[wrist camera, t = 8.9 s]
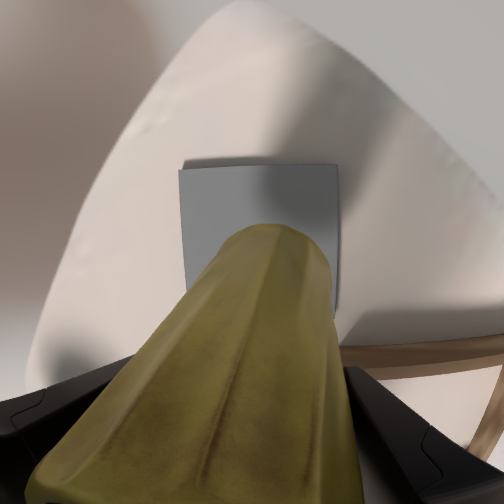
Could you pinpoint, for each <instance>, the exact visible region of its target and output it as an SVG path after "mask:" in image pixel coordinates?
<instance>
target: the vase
mask: <svg viewBox="0 0 504 504" xmlns="http://www.w3.org/2000/svg"><path fill="white" fill-rule="evenodd" d="M331 292H332V275H331V269H330V265H329V263H328V261H327V258H326V256H325V255H324V253H323V252H322V250H321V249H320V247H319V246H318V245H317V244H316V243H315V242H314V241H313V240H312V239H311V238H310V237H308V236H307V235H305V234H304V233H302V232H300V231H298V230H296V229H293V228H291V227H289V226H286V225H284V224H273V223H266V224H256V225H252V226H249V227H247V228H244V229H242V230H240V231H238V232H236V233H235V234H233V235H232V236H230V237H229V238H228V239H227V240H226V241H225V242H224V243H223V245H222V246H221V247H220V249H219V251H218V252H217V254H216V256H215V257H214V258H213V259H212V260H211V261H210V263H209V264H208V265H207V266H206V267H205V269H204V270H203V271H202V272H201V274H200V275H199V276H198V278H197V279H196V281H195V282H194V283H193V285H192V286H191V287H190V289H189V290H188V291H187V292H186V293H185V295H184V296H183V297H182V298H181V300H180V301H179V302H178V303H177V305H176V306H175V307H174V309H173V310H172V311H171V313H170V314H169V315H168V316H167V317H166V318H165V320H164V321H163V322H162V323H161V324H160V325H159V327H158V328H157V329H156V330H155V332H154V333H153V334H152V335H151V337H150V338H149V339H148V340H147V342H146V343H145V344H144V345H143V346H142V347H141V348H140V349H139V351H138V352H137V353H136V354H135V355H134V356H133V357H132V358H131V359H130V360H129V361H128V362H127V364H126V365H125V366H124V367H123V368H122V369H121V370H120V371H119V373H118V374H117V375H116V376H115V377H114V378H113V380H112V381H111V382H110V383H109V384H108V385H107V387H106V388H105V389H104V390H103V391H102V393H101V394H100V395H99V396H98V397H97V398H96V400H95V401H94V402H93V403H92V404H91V406H90V407H89V408H88V409H87V410H86V411H85V413H84V414H83V415H82V416H81V417H80V418H79V420H78V421H77V422H76V423H75V424H74V425H73V426H72V427H71V429H70V430H69V431H68V432H67V433H66V434H65V435H64V436H63V438H62V439H61V440H60V441H59V442H58V443H57V445H56V446H55V447H54V448H53V449H52V450H50V451H49V452H48V453H47V454H46V455H45V457H44V458H43V459H42V460H41V461H40V462H39V464H38V465H37V466H36V467H35V469H34V471H33V472H32V474H31V476H30V477H29V480H28V483H27V485H26V488H25V491H24V494H25V499H26V504H365V500H364V490H363V482H362V475H361V469H360V463H359V457H358V451H357V445H356V439H355V432H354V426H353V419H352V413H351V407H350V401H349V395H348V390H347V385H346V381H345V377H344V372H343V367H342V362H341V357H340V351H339V344H338V337H337V332H336V328H335V324H334V319H333V314H332V304H331Z"/></svg>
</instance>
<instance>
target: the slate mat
mask: <svg viewBox="0 0 504 504" xmlns="http://www.w3.org/2000/svg"><path fill="white" fill-rule="evenodd" d="M178 172H179V194H180V212H181V228H182V242H183V255H184V267H185V278H186V289H187V291H188V290H189V289H190V287H191V286H192V285H193V283H194V282H195V281H196V279H197V278H198V276H199V275H200V274H201V272H202V271H203V270H204V269H205V267H206V266H207V265H208V264H209V263H210V261H211V260H212V259H213V258H214V257H215V256H216V254H217V252H218V251H219V249H220V247H221V246H222V245H223V243H224V242H225V241H226V240H227V239H228V238H229V237H230V236H232V235H233V234H235V233H236V232H238V231H240V230H242V229H244V228H247V227H249V226H252V225H256V224H266V223H273V224H284V225H286V226H289V227H291V228H293V229H296V230H298V231H300V232H302V233H304V234H305V235H307V236H308V237H310V238H311V239H312V240H313V241H314V242H315V243H316V244H317V245H318V246H319V247H320V249H321V250H322V252H323V253H324V255H325V256H326V258H327V261H328V263H329V265H330V269H331V275H332V292H331V304H332V314H333V319H334V316H335V299H336V279H337V250H338V165H322V164H304V165H255V166H231V167H213V168H197V169H184V170H178Z"/></svg>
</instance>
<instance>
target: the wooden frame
mask: <svg viewBox="0 0 504 504" xmlns="http://www.w3.org/2000/svg"><path fill="white" fill-rule="evenodd" d="M339 351H340V357H341V362H342V367H343V368H344V366H355V365H357V366H359V367H361V368H362V369H363V370H364V371H366V372H367V373H368V374H369V375H370V376H372V377H373V378H374V379H375V380H389V379H402V378H413V377H423V376H432V375H440V374H448V373H456V372H462V371H469V370H475V369H481V368H487V367H492V366H498V365H503V367H502V370H501V373H500V376H499V379H498V381H497V384H496V387H495V389H494V392H493V395H492V397H491V399H490V402H489V404H488V407H487V409H486V411H485V414H484V416H483V418H482V420H481V423H480V425H479V427H478V429H477V431H476V433H475V435H474V437H473V439H472V441H471V443H470V445H469V447H468V449H467V451H468V452H470V453H472V454H473V455H475V456H477V457H478V458H480V459H482V460H483V461H485V462H486V461H487V459H488V458H489V456H490V454H491V453H492V451H493V449H494V447H495V446H496V444H497V442H498V440H499V438H500V436H501V434H502V433H503V431H504V334H500V335H493V336H485V337H477V338H469V339H460V340H450V341H439V342H428V343H414V344H399V345H380V346H352V347H339Z"/></svg>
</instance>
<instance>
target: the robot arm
mask: <svg viewBox="0 0 504 504" xmlns="http://www.w3.org/2000/svg"><path fill="white" fill-rule="evenodd" d="M134 355H135V354H134ZM134 355H132V356H129V357H127V358H124V359H122V360H119V361H117V362H114V363H111V364H109V365H106V366H104V367H101V368H98V369H96V370H93V371H91V372H88V373H85V374H83V375H80V376H77V377H75V378H72V379H69V380H66V381H64V382H61V383H58V384H55V385H53V386H50V387H47V389H46V388H44V389H41V390H38V391H35V392H32V393H29V394H26V395H23V396H20V397H17V398H12V399H9V400H5V401H1V402H0V504H26V499H25V494H24V491H25V488H26V485H27V483H28V480H29V477H30V476H31V474H32V472H33V471H34V469H35V467H36V466H37V465H38V464H39V462H40V461H41V460H42V459H43V458H44V457H45V455H46V454H47V453H48V452H49V451H50V450H52V449H53V448H54V447H55V446H56V445H57V443H58V442H59V441H60V440H61V439H62V438H63V436H64V435H65V434H66V433H67V432H68V431H69V430H70V429H71V427H72V426H73V425H74V424H75V423H76V422H77V421H78V420H79V418H80V417H81V416H82V415H83V414H84V413H85V411H86V410H87V409H88V408H89V407H90V406H91V404H92V403H93V402H94V401H95V400H96V398H97V397H98V396H99V395H100V394H101V393H102V391H103V390H104V389H105V388H106V387H107V385H108V384H109V383H110V382H111V381H112V380H113V378H114V377H115V376H116V375H117V374H118V373H119V371H120V370H121V369H122V368H123V367H124V366H125V365H126V364H127V362H128V361H129V360H130V359H131V358H132V357H133V356H134ZM343 372H344V377H345V381H346V385H347V390H348V395H349V401H350V407H351V413H352V419H353V426H354V432H355V439H356V445H357V451H358V457H359V463H360V469H361V475H362V482H363V490H364V500H365V504H504V472H502V471H500V470H499V469H497V468H495V467H494V466H492V465H490V464H488V463H487V462H485V461H483V460H482V459H480V458H478V457H477V456H475V455H473V454H472V453H470V452H468V451H467V450H465V449H464V448H462V447H461V446H459V445H458V444H456V443H455V442H453V441H452V440H450V439H449V438H448V437H446V436H445V435H444V434H442V433H441V432H440V431H438V430H437V429H436V428H435V427H433V426H432V425H430V424H429V423H428V422H427V421H426V420H425V419H423V418H422V417H421V416H420V415H418V414H417V413H416V412H415V411H413V410H412V409H411V408H410V407H408V406H407V405H406V404H405V403H403V402H402V401H401V400H400V399H399V398H397V397H396V396H395V395H394V394H392V393H391V392H390V391H389V390H387V389H386V388H385V387H384V386H383V385H381V384H380V383H379V382H378V381H376V380H375V379H374V378H373V377H372V376H370V375H369V374H368V373H367V372H366V371H364V370H363V369H362V368H361V367H359V366H357V365H355V366H344V368H343Z"/></svg>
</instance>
